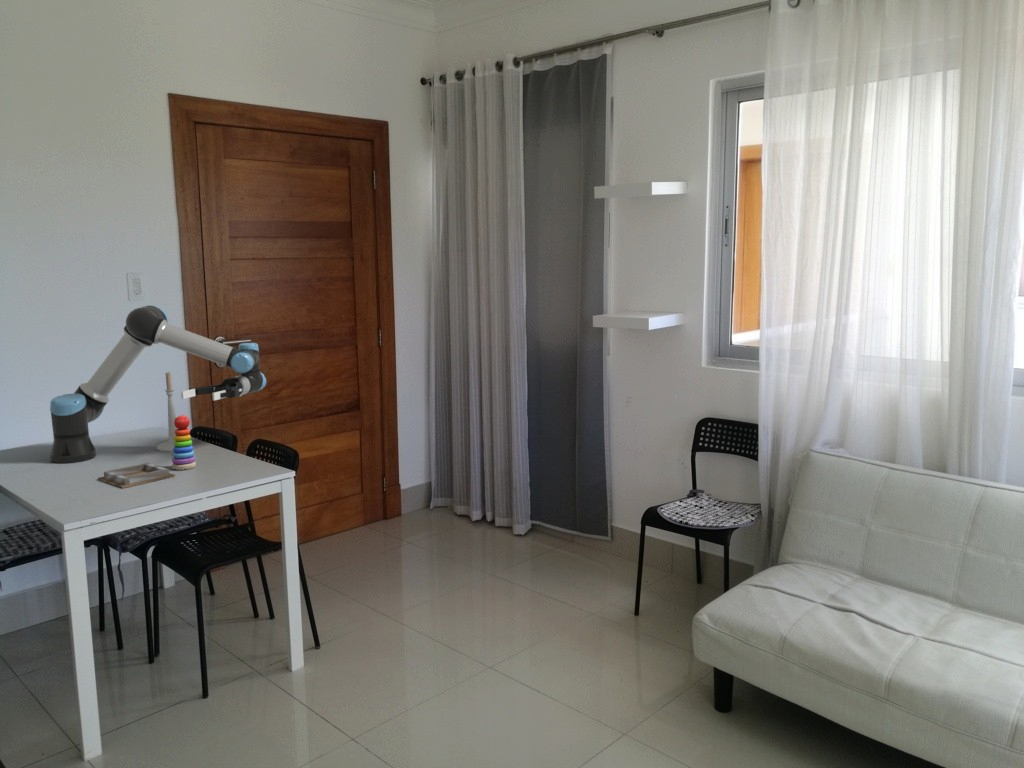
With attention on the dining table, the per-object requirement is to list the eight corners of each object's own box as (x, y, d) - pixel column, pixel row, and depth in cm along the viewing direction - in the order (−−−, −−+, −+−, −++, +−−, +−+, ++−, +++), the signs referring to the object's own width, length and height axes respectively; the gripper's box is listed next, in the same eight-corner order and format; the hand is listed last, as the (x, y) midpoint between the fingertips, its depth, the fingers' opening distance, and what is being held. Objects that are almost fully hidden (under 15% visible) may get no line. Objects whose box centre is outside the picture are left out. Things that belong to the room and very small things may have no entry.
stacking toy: (188, 471, 290) (183, 418, 287) (167, 470, 291) (163, 417, 288) (200, 465, 297) (196, 413, 294) (180, 464, 299) (176, 413, 296)
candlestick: (149, 450, 321) (142, 373, 316) (169, 443, 333) (163, 368, 329) (179, 451, 318) (172, 374, 314) (198, 444, 331) (192, 369, 326)
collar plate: (97, 479, 280) (97, 472, 280) (149, 468, 294) (149, 461, 294) (122, 488, 269) (122, 480, 268) (175, 476, 282) (175, 469, 282)
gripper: (263, 397, 316) (227, 407, 296) (208, 395, 324) (170, 404, 304) (262, 378, 315) (225, 387, 295) (207, 376, 323) (168, 384, 303)
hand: (197, 396), depth 300 cm, fingers open, 13 cm apart
